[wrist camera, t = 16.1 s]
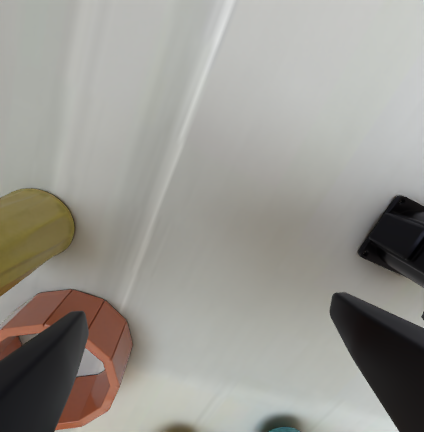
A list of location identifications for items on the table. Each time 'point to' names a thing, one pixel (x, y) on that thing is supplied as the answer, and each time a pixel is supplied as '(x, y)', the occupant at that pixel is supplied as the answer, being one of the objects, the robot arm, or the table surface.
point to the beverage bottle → (284, 429)
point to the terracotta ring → (96, 343)
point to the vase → (30, 233)
